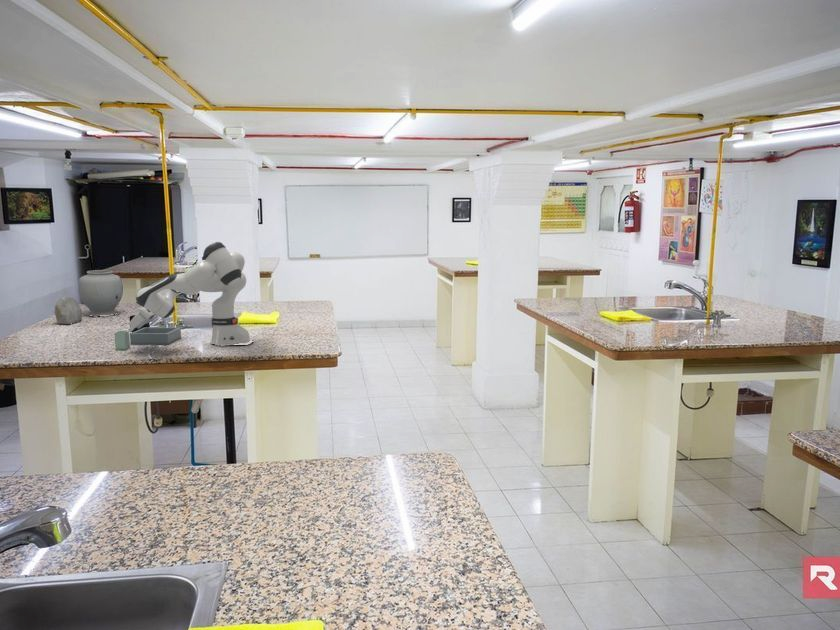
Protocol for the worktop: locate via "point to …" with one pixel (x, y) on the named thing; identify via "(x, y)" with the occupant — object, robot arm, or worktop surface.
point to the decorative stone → (67, 311)
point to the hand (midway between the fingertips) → (133, 329)
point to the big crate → (155, 336)
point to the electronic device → (141, 327)
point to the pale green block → (122, 340)
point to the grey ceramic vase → (100, 291)
